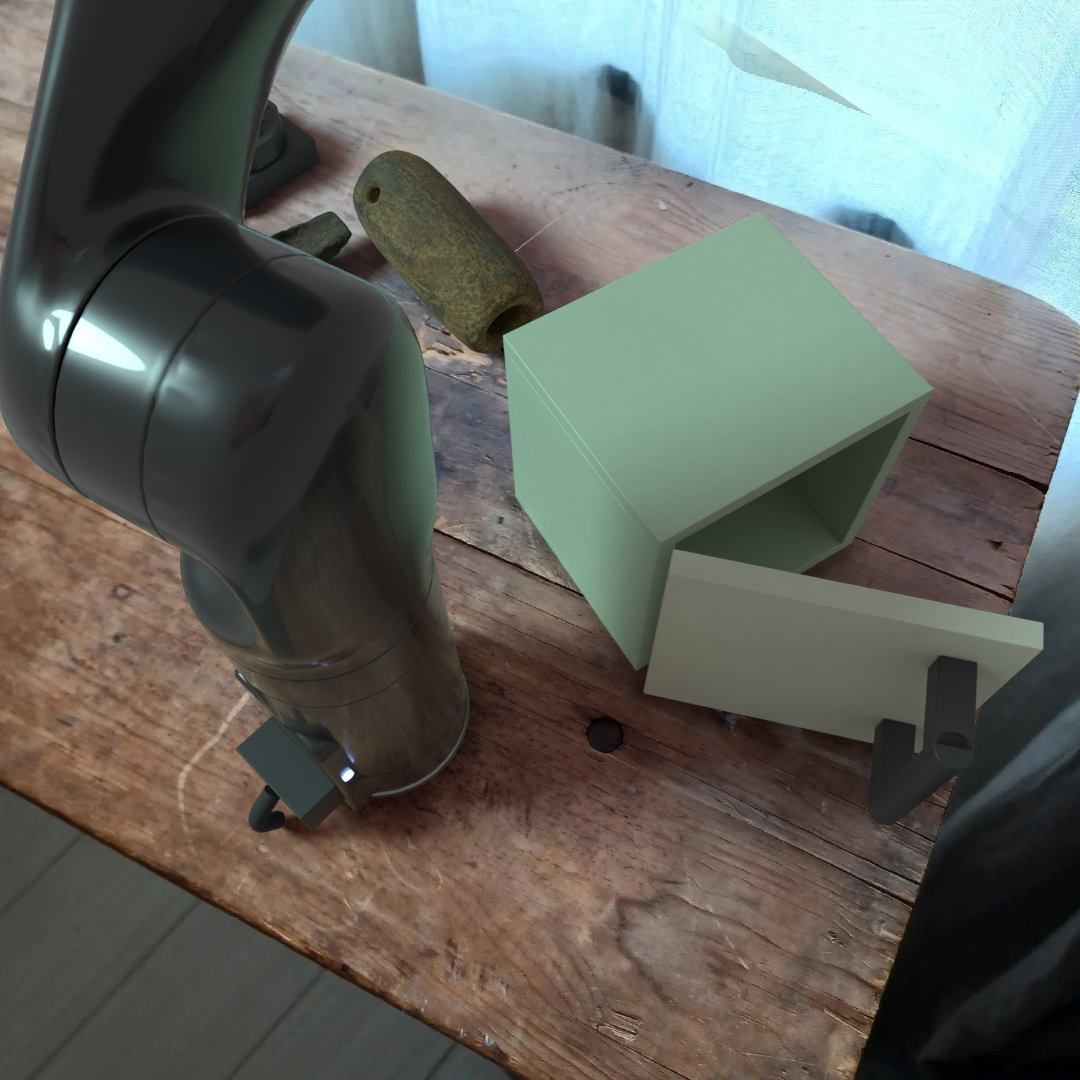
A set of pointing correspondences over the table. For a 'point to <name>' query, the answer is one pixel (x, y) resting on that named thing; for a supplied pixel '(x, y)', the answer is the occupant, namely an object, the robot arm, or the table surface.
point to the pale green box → (703, 421)
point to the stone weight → (445, 250)
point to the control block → (278, 156)
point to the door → (838, 665)
